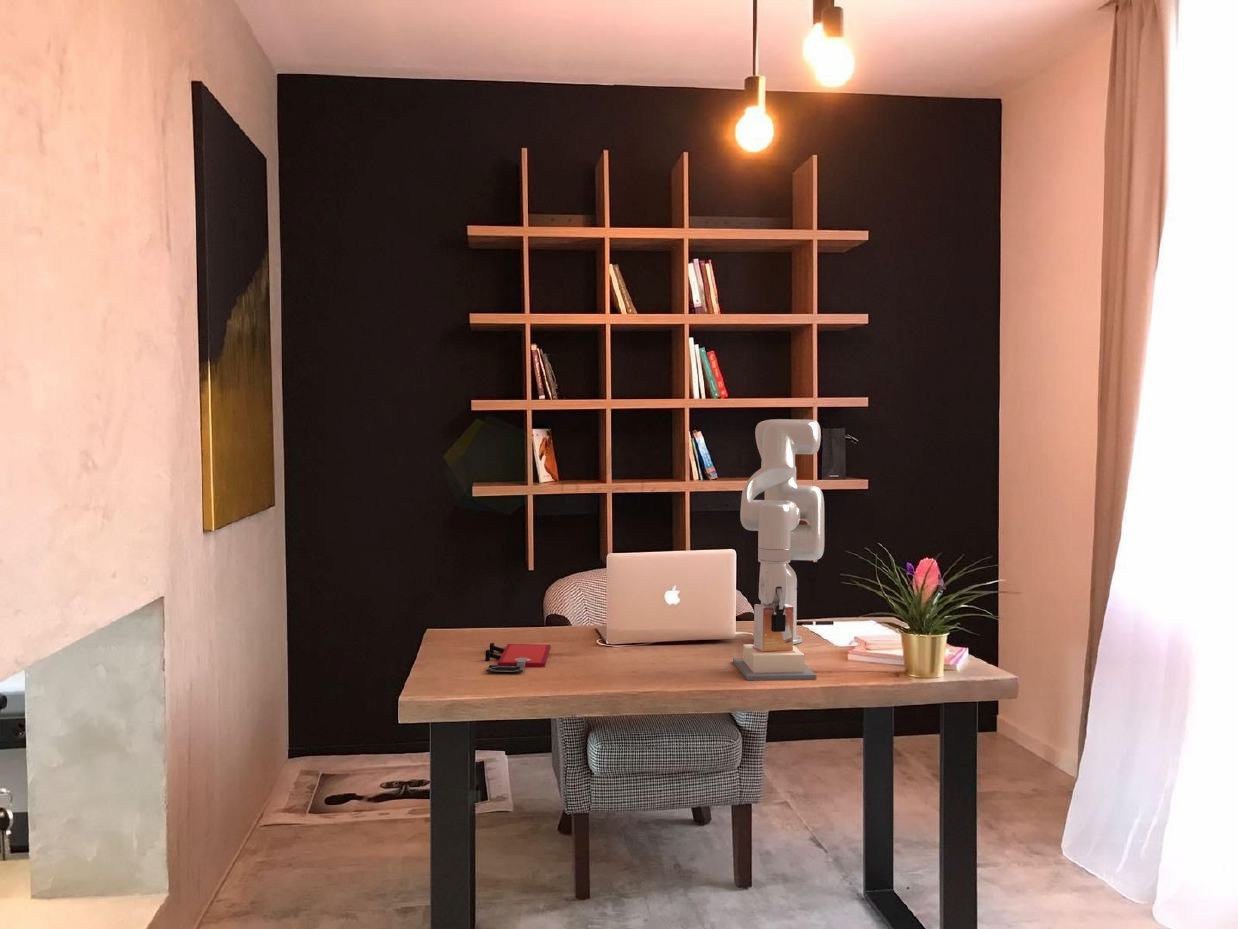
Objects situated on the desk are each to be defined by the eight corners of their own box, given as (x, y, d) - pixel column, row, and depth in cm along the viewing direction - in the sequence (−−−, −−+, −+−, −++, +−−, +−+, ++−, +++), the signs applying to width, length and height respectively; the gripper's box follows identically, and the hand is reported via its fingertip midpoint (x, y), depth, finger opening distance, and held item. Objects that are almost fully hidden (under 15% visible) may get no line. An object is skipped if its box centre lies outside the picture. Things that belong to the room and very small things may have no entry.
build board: (732, 662, 248) (733, 641, 248) (796, 661, 250) (797, 640, 249) (747, 680, 230) (747, 658, 230) (816, 679, 232) (816, 657, 231)
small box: (761, 652, 236) (762, 607, 236) (753, 647, 242) (753, 603, 241) (793, 650, 238) (794, 606, 238) (784, 645, 244) (784, 602, 243)
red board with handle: (477, 675, 235) (542, 676, 235) (478, 663, 235) (542, 664, 235) (493, 649, 265) (550, 650, 265) (493, 638, 265) (550, 639, 265)
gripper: (751, 551, 247) (750, 620, 248) (766, 560, 230) (765, 635, 231) (781, 551, 248) (780, 620, 248) (798, 560, 231) (798, 634, 231)
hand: (773, 627), depth 240 cm, fingers open, 9 cm apart
